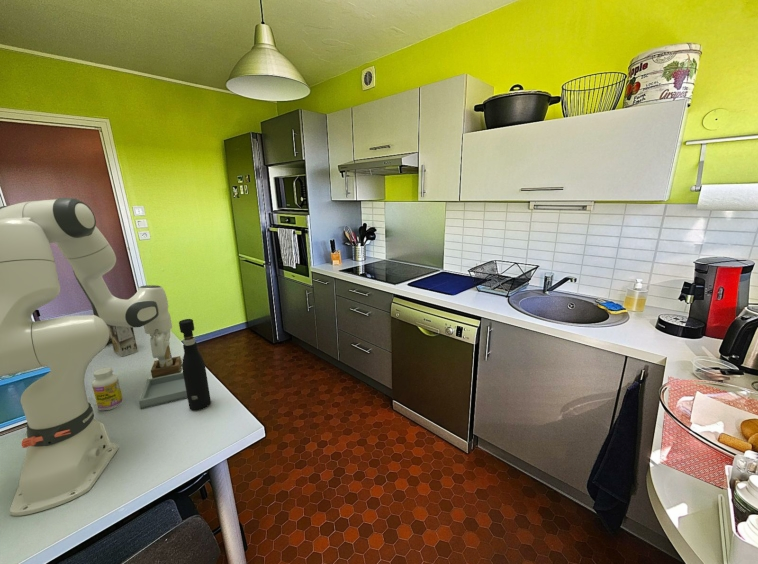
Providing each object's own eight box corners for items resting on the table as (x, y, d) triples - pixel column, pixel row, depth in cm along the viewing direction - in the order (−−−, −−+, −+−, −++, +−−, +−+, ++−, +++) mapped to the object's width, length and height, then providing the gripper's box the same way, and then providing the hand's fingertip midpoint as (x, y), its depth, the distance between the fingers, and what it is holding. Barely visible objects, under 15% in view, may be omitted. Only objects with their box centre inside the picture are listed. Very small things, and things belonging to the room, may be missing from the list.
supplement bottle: (95, 413, 104) (85, 378, 101) (101, 402, 110) (93, 368, 107) (120, 407, 107) (112, 373, 104) (125, 397, 113) (118, 364, 109)
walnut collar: (179, 374, 127) (178, 365, 126) (152, 380, 123) (150, 371, 122) (181, 364, 135) (180, 356, 134) (156, 369, 131) (154, 360, 130)
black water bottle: (207, 397, 112) (194, 315, 105) (213, 405, 108) (200, 320, 100) (186, 405, 108) (171, 321, 100) (192, 413, 103) (176, 326, 96)
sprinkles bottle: (174, 373, 128) (168, 341, 125) (161, 376, 126) (154, 344, 122) (174, 368, 132) (168, 337, 129) (161, 371, 129) (154, 340, 126)
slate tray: (192, 396, 112) (191, 389, 112) (140, 409, 106) (139, 401, 105) (195, 376, 125) (194, 369, 125) (148, 386, 119) (147, 379, 118)
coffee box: (138, 351, 147) (131, 318, 143) (122, 357, 142) (114, 322, 138) (130, 346, 152) (122, 314, 148) (113, 352, 147) (105, 319, 143)
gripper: (164, 333, 116) (170, 368, 120) (170, 316, 134) (176, 346, 138) (143, 337, 114) (150, 372, 117) (152, 318, 131) (158, 349, 135)
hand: (164, 358), depth 127 cm, fingers open, 8 cm apart
